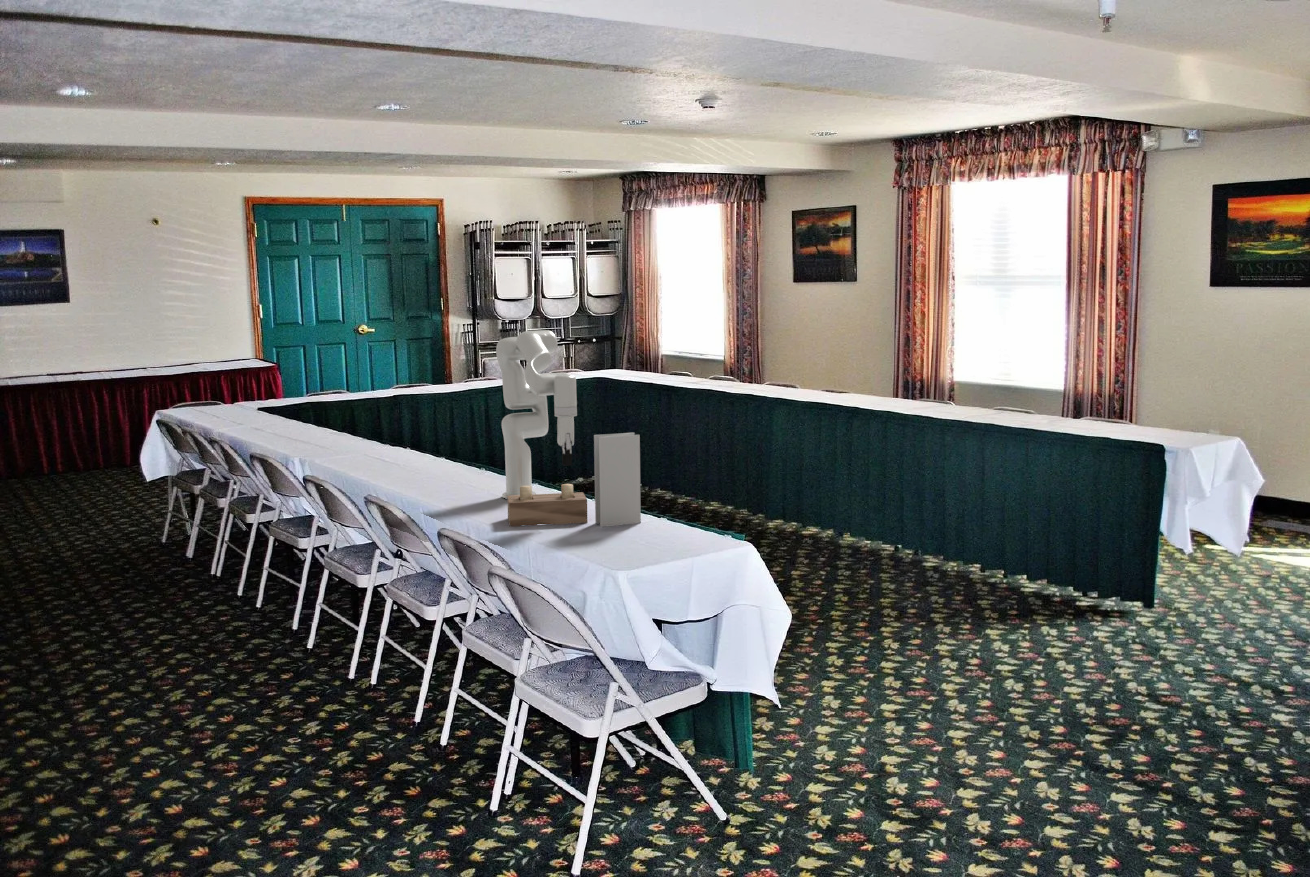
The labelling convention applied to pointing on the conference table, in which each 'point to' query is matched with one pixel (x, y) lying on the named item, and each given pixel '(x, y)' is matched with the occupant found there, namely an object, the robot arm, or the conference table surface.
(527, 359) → the robot arm
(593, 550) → the conference table surface
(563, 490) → the peg
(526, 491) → the peg
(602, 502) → the brochure
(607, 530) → the conference table surface
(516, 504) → the walnut block
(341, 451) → the conference table surface
